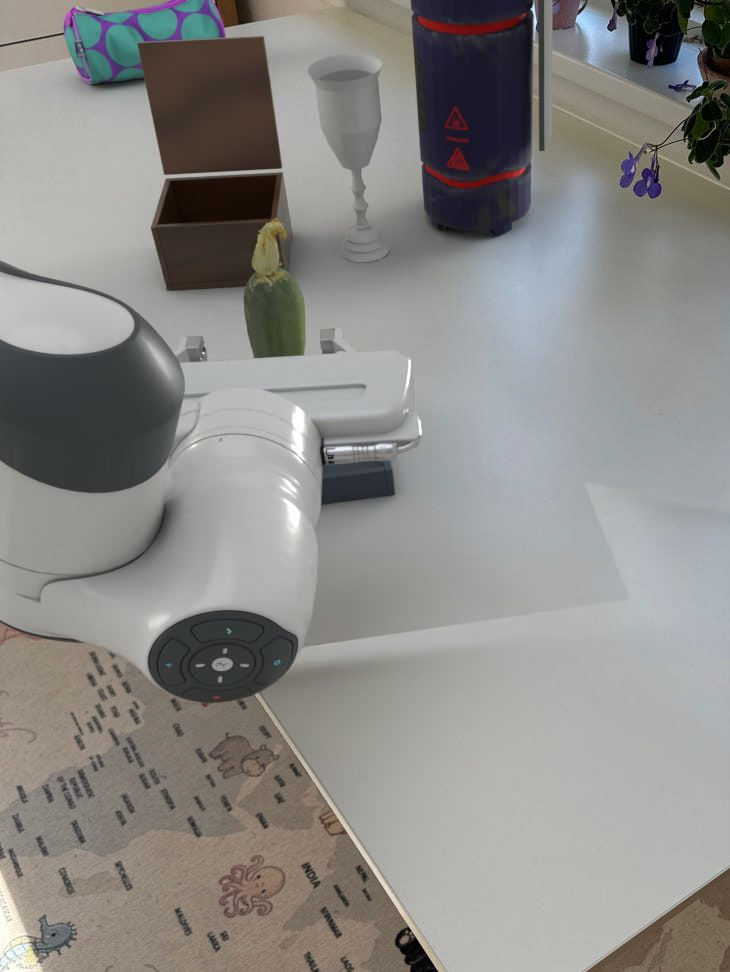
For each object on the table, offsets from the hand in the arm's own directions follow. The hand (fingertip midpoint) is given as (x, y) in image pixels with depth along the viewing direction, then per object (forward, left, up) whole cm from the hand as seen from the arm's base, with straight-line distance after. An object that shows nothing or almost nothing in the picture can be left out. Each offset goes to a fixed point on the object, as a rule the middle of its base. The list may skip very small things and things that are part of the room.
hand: (263, 341), depth 71 cm
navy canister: (+24, +46, -15) cm, 54 cm away
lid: (-4, +48, -2) cm, 49 cm away
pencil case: (-14, +101, -15) cm, 103 cm away
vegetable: (+1, +6, -14) cm, 16 cm away
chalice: (+10, +41, -15) cm, 45 cm away
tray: (+1, +6, -15) cm, 16 cm away
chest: (-4, +42, -15) cm, 45 cm away
